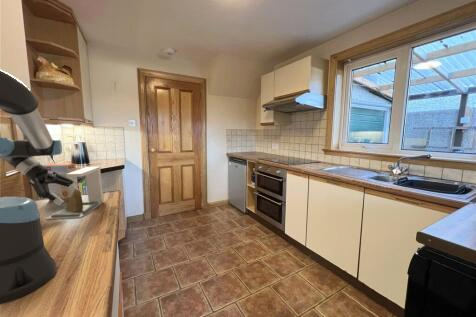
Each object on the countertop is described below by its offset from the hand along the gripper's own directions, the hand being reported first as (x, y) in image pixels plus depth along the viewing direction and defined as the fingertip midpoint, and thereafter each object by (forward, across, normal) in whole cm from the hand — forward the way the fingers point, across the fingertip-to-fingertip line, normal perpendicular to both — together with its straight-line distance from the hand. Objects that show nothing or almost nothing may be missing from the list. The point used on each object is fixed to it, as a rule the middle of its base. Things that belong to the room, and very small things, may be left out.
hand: (71, 198), depth 102 cm
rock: (+5, +1, -3) cm, 6 cm away
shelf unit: (+5, -1, -3) cm, 7 cm away
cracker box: (-6, -18, -15) cm, 24 cm away
